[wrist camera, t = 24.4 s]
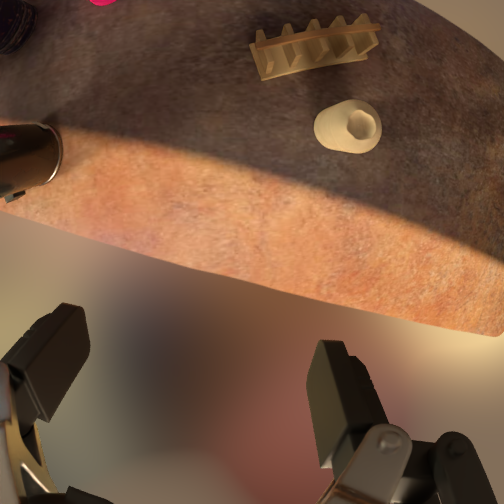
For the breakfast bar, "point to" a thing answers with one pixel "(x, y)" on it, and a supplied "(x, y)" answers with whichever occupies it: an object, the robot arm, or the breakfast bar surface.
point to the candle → (348, 127)
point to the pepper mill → (102, 2)
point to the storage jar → (15, 24)
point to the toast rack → (313, 46)
